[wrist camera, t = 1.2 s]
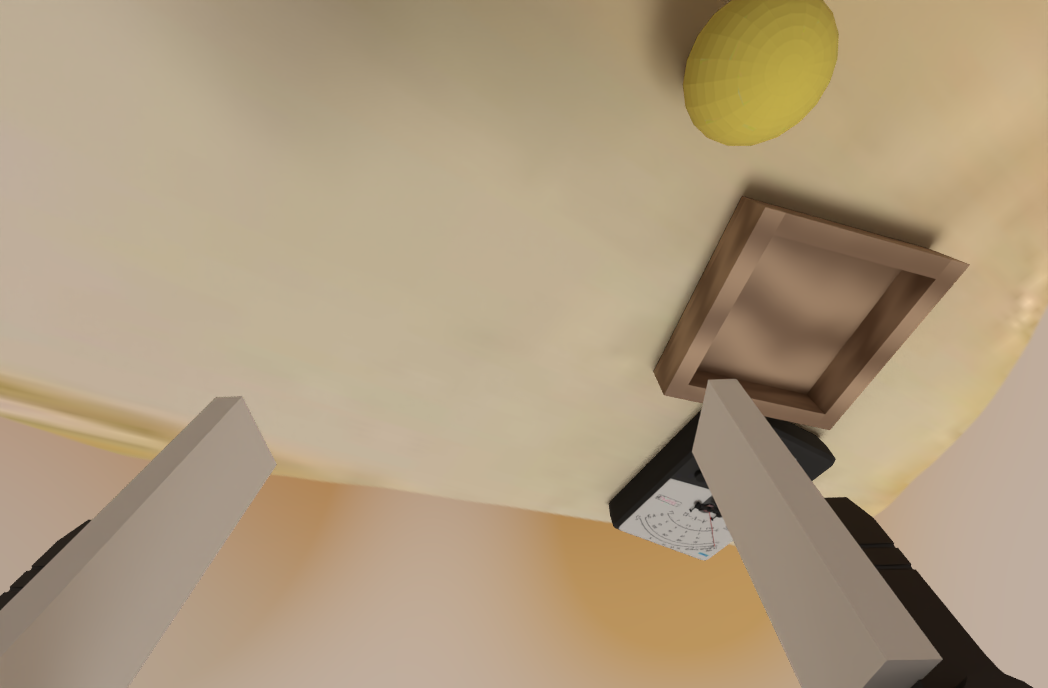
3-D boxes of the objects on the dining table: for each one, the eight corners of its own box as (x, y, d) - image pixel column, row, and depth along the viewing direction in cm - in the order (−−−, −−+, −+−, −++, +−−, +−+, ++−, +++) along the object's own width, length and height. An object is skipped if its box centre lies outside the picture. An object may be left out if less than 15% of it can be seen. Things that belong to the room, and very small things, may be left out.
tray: (742, 196, 30) (765, 207, 27) (929, 249, 32) (969, 264, 29) (653, 372, 38) (663, 395, 35) (807, 405, 40) (829, 430, 37)
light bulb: (630, 103, 27) (679, 108, 19) (696, -17, 24) (791, -77, 15) (711, 153, 29) (791, 180, 20) (783, 47, 26) (913, 25, 17)
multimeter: (818, 434, 43) (851, 472, 38) (693, 535, 51) (709, 575, 47) (720, 384, 39) (744, 420, 35) (605, 501, 48) (613, 541, 44)
